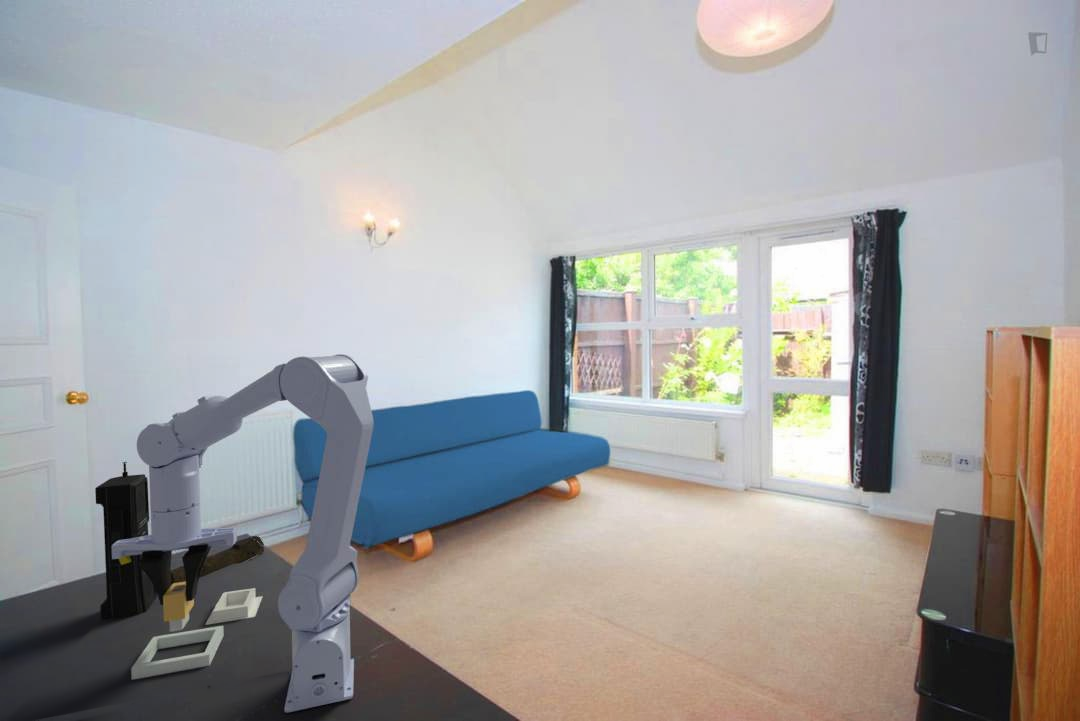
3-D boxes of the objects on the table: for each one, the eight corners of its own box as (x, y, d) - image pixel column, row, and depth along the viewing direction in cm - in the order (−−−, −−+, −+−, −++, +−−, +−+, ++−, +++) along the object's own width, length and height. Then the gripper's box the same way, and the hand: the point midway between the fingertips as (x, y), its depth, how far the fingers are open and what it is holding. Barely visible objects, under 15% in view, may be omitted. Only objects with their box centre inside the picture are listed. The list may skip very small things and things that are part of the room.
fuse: (185, 631, 71) (184, 592, 71) (164, 634, 71) (163, 595, 70) (194, 616, 75) (193, 579, 75) (174, 619, 74) (173, 582, 74)
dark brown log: (171, 595, 92) (170, 570, 92) (160, 590, 94) (159, 565, 94) (271, 557, 109) (270, 535, 108) (260, 552, 111) (259, 531, 110)
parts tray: (209, 670, 71) (209, 654, 71) (131, 685, 68) (131, 668, 68) (223, 640, 78) (223, 625, 78) (153, 651, 75) (153, 636, 75)
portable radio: (143, 621, 83) (137, 470, 82) (97, 628, 81) (91, 474, 80) (158, 598, 91) (154, 459, 90) (117, 604, 89) (111, 462, 87)
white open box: (254, 621, 83) (254, 605, 83) (205, 629, 81) (204, 613, 81) (262, 600, 90) (262, 586, 90) (217, 607, 88) (216, 592, 87)
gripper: (240, 492, 78) (242, 578, 79) (126, 502, 73) (129, 594, 74) (229, 506, 72) (231, 601, 72) (102, 518, 67) (106, 619, 67)
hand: (178, 599), depth 73 cm, fingers closed on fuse, 2 cm apart
